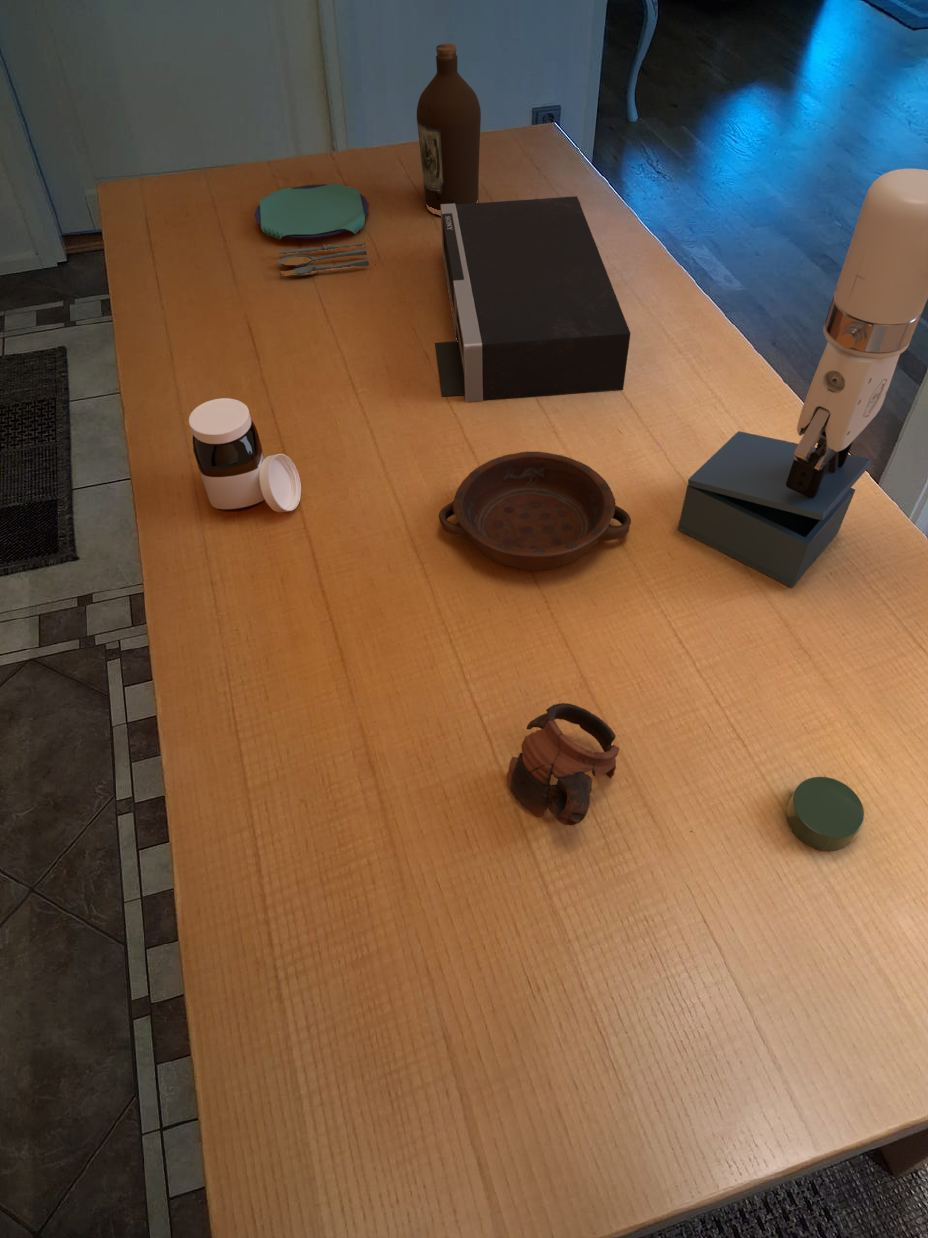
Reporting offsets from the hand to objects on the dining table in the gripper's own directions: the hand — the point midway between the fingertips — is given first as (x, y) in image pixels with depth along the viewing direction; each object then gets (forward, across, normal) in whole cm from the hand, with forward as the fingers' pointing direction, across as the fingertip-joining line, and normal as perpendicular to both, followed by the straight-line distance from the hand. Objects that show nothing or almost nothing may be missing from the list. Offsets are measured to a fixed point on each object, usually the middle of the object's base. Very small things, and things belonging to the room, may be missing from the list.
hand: (815, 474), depth 94 cm
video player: (+11, +18, +55) cm, 59 cm away
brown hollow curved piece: (+11, -41, +1) cm, 43 cm away
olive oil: (+11, +40, +87) cm, 96 cm away
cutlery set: (+12, +18, +98) cm, 100 cm away
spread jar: (+11, -33, +54) cm, 65 cm away
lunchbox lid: (+2, 0, +4) cm, 4 cm away
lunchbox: (+11, 0, +4) cm, 12 cm away
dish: (+11, -16, +24) cm, 31 cm away
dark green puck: (+11, -29, -18) cm, 36 cm away
